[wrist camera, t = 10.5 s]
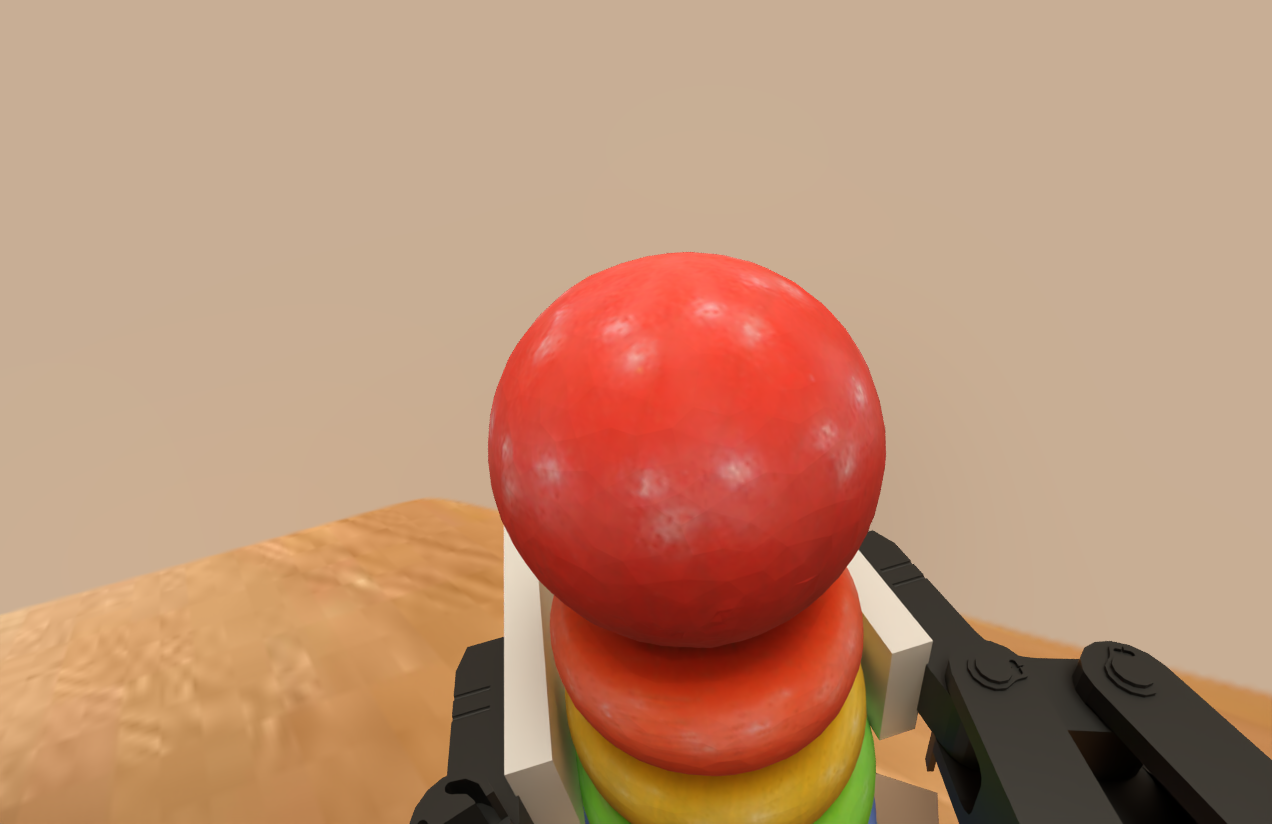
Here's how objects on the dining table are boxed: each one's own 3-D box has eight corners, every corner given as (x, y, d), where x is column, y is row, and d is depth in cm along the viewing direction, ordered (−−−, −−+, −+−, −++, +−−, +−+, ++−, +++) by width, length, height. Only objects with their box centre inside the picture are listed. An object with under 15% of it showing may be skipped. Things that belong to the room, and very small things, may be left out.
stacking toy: (619, 1156, 12) (-85, 638, 3) (596, 778, 19) (376, 254, 10) (953, 1070, 12) (1410, 304, 3) (810, 726, 19) (805, 165, 10)
